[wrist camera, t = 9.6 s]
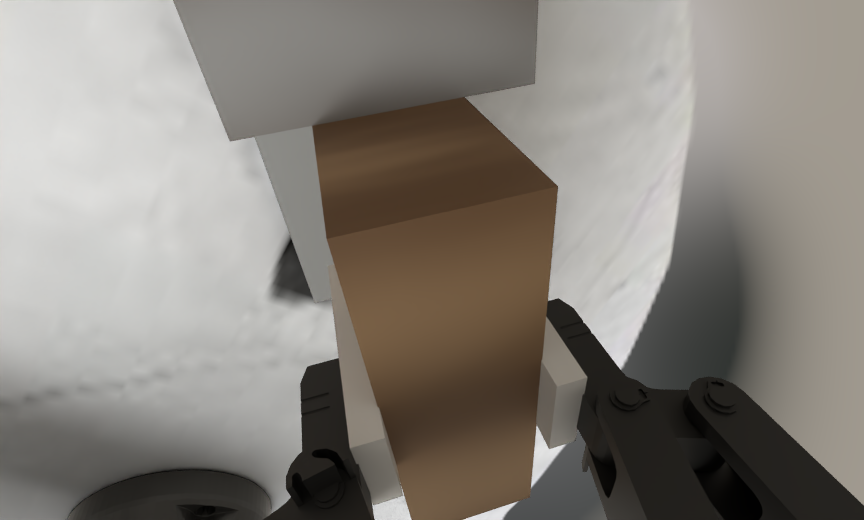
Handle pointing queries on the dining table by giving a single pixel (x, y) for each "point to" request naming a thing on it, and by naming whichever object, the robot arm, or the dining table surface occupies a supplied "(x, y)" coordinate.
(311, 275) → the rest mat
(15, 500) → the dining table surface
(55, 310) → the dining table surface
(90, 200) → the dining table surface
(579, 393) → the robot arm
